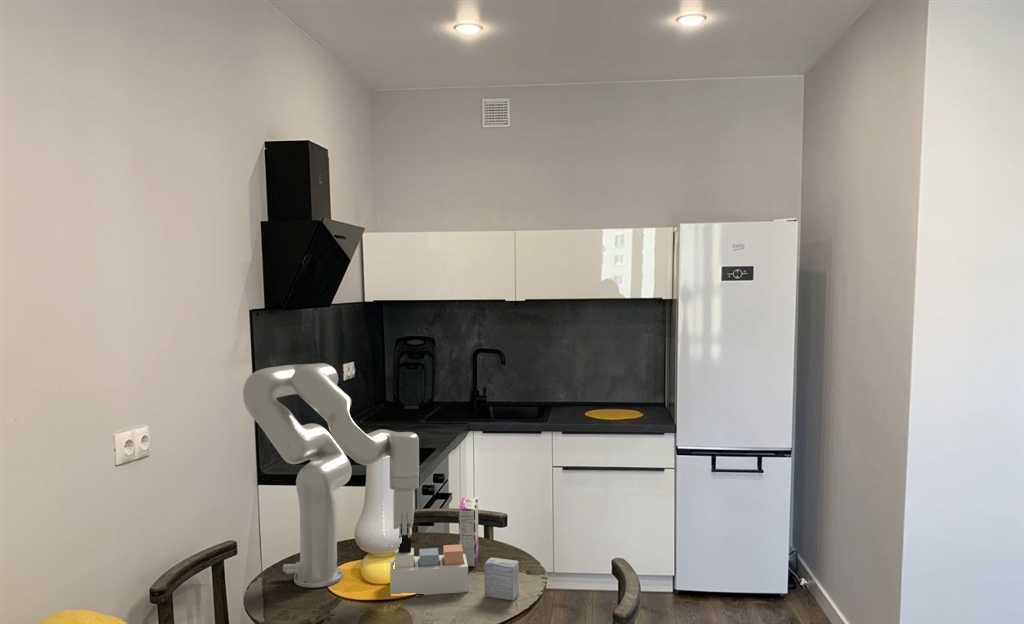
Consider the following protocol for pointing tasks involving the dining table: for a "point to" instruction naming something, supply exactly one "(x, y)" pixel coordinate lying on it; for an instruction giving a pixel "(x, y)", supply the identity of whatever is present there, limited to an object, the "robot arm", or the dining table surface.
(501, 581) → the medicine box
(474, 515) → the candy bar box
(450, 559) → the terracotta key
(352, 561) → the dining table surface
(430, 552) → the slate key
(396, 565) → the ivory key
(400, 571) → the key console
